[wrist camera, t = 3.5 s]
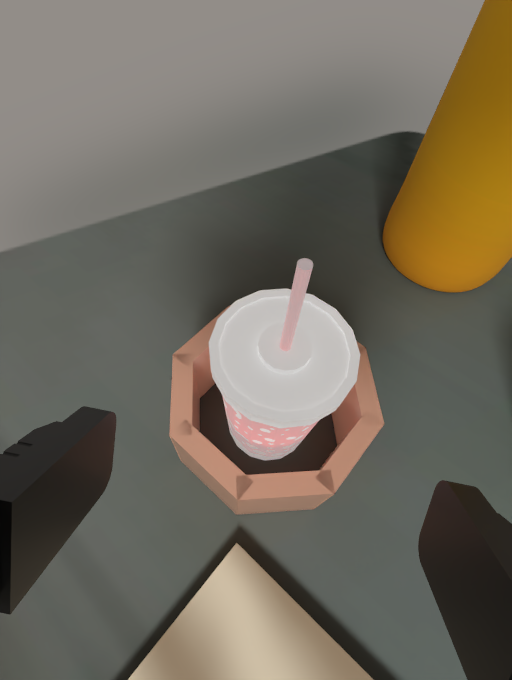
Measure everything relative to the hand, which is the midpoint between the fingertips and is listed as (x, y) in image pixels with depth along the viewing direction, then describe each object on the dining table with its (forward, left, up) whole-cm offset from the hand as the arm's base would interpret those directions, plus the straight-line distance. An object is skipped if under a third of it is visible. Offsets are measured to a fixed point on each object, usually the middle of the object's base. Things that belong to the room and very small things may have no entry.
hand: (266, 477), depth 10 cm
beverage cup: (-5, -3, -13) cm, 14 cm away
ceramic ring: (-5, -3, -13) cm, 14 cm away
